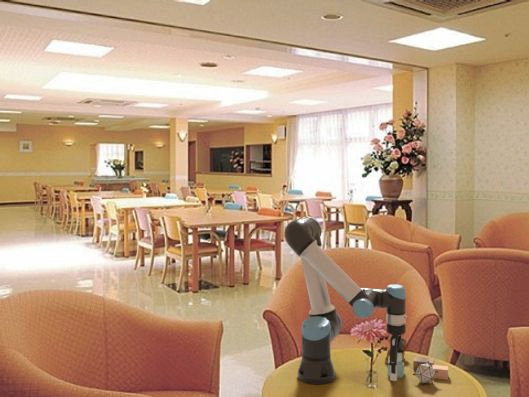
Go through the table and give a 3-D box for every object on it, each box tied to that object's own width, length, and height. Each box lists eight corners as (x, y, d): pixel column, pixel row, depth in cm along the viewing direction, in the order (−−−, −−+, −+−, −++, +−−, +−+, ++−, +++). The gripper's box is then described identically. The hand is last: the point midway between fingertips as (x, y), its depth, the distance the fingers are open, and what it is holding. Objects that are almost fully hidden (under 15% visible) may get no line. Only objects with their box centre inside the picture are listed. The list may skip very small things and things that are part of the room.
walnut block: (413, 370, 221) (413, 360, 221) (414, 365, 226) (414, 356, 225) (433, 372, 218) (433, 363, 218) (434, 368, 223) (434, 358, 222)
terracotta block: (432, 378, 213) (432, 368, 213) (432, 374, 217) (432, 364, 216) (447, 379, 211) (448, 370, 211) (447, 375, 215) (447, 366, 214)
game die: (429, 393, 207) (439, 380, 201) (408, 384, 208) (418, 371, 202) (432, 374, 214) (441, 361, 207) (411, 366, 215) (420, 352, 209)
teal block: (387, 375, 216) (387, 363, 215) (389, 371, 220) (389, 360, 219) (402, 377, 214) (402, 365, 213) (404, 373, 217) (404, 362, 217)
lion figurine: (398, 354, 238) (398, 335, 237) (409, 357, 234) (409, 337, 234) (382, 364, 227) (382, 344, 226) (393, 367, 223) (393, 347, 223)
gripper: (401, 333, 202) (401, 387, 204) (409, 315, 225) (409, 364, 226) (381, 331, 205) (381, 385, 207) (391, 313, 227) (391, 361, 229)
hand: (396, 374), depth 216 cm, fingers open, 12 cm apart
